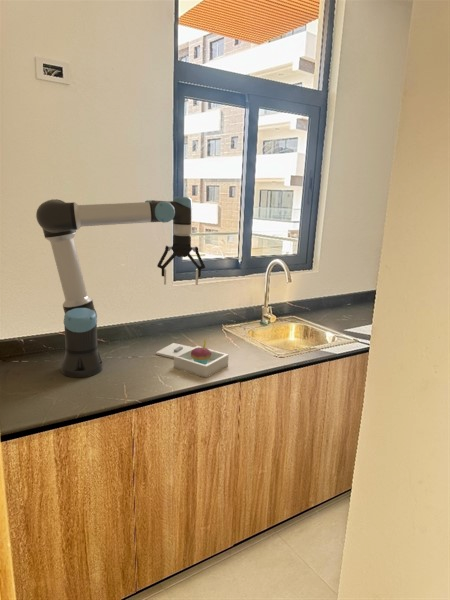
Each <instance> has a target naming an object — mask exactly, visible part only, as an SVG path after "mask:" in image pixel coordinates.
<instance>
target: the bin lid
mask: <svg viewBox="0 0 450 600" xmlns="http://www.w3.org/2000/svg"><path fill="white" fill-rule="evenodd" d="M194 347H195V346H189V345H185V344H179V343H175V342H172V343H171V344H169V345H167V346H165V347H163V348H160V350H158V351H156V354H155V355H157V356H162V357H165V358H166V357H167V358H170V359H174V356H176V355H178V354H180V353H183V352H185V351H187V350H189V349H192V348H194Z"/></svg>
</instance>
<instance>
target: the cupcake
mask: <svg viewBox="0 0 450 600" xmlns="http://www.w3.org/2000/svg"><path fill="white" fill-rule="evenodd" d="M206 343H207V338H205V339H204V342H203V346H202V347H203V348H195V349H193V350H192V351H191V357H192V358H193V359H194V361H195V362H198V363H201V364H205V365H206V364H207V362H208V359H210V357H211V355H212V353H211V352H210V351H209V350H208V349H209V348H207V347H206Z"/></svg>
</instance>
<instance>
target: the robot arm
mask: <svg viewBox="0 0 450 600" xmlns="http://www.w3.org/2000/svg"><path fill="white" fill-rule="evenodd" d="M35 213H36V214H35V218H36V222H37V223H38V226H40V228H42V232H43V236H44V239H46V240H48V241H49V243H50V245H51V249H52V254H53V259H54V261H55V264H56V265H55V266H56V269H57V273H58V277H59V282H60V284H61V288H62V292H63V296H64V299H65V300H64V302H63V303H62V308H63V312H64V317H63V324H64V325H63V326H64V342H65V343H64V344H65V353H64V356H63V357H64V358H63V361H62V364H61V373H62V374H63V375H64V376H66V377H70V378H87V377H88V378H89V377H92V376H95V375H97V374H99V373H101V372H102V371H103V366H104V365H103V360H102V358H101V355H100V353H99V350H98V325H97V323H98V314H97V310H96V309H95V305H94V301H93V298H92V297H90V295H88V294H87V287H86V285H85V280H84V276H83V272H82V269H81V264H80V259H79V256H78V252H77V247H76V242H75V239H74V237H75V235H76V234H77V230H78V231H79V229H80V228H81V227H96V226H110V225H112V226H115V225H128V224H129V225H131V224H144V223H146V224H147V223H165V224H166V223H170V222H171V221H173V223H172V224H173V226H172V232H173V235H172V245H171V246H170V245H165V247H164V250H163V251H164V252H163V253H162V255H161V257H160V259H159V262H158V263H157V264H156V265H157V268H160V269H161V277H164V278H163V285H167V268H166V267H167V266H168V265H169V264H170V263H171V262H172V261H173V259H174V258H176V257H178V258H181V257H182V258H186V257H187V258H188V259H189V260H190V261H191V262H192V263H193V265H194V266H195V267H196V269H195V286H199V285H198V283H199V278H201V275H202V274H201V273H202V272H201V271H202V270H203V269H204V270H205V268H206V266H205V264H204V261H203V259H202V257H201V255H200V253H199V247H198V246H192V236H191V234H192V219H193V217H192V216H193V201H192V197H189V196H174V197H173V200H168V201H167V200H155V199H153V200H152V199H151V200H149V199H147V200H145V201H143V202H122V203H121V202H119V203H98V204H96V203H95V204H78V203H76V202H65V201H64V200H61V199H53V198H52V199H48V200H46V201H44V202H42V203H41V204H40V205H39V206H38V208H37V209H36V212H35ZM171 250H172V252H173V253H171V255H170V256H169V258H167V260H166V261H165V262H164V260H165V258H166V256H167V255H168V253H169V252H170V251H171ZM192 251H193V252H194V253H195V255H196V257H197V259H198V261H199V263H198V262H197V261H196V259H194V257H193V256H192V254H191V252H192ZM163 262H164V263H163ZM199 264H200V265H199Z"/></svg>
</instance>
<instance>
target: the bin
mask: <svg viewBox="0 0 450 600" xmlns="http://www.w3.org/2000/svg"><path fill="white" fill-rule="evenodd" d="M193 347H194V348H192V349H189V350H187V351H185V352H183V353H180V354H178V355H176V356H174V358H173V368H174V369H177V370H181V371H182V372H186V373H189V374H192V375H195V376H198V377H201V376H202V378H204V377H205V378H204V379H207V378H208V376H209V375H210V376H212V375H214V374H215V372H216V373H217V372H219V371H221V370H223V369H224V368H227V366H229V354H228V353H225V352H221V351H217V350H215V349H210V348H207V349H208V350H209V351H210V352H211V353H212V355H211V357H210V359H208V362H207V364H206V365H205V364H201V363H198V362H195V361H194V359H193V358H192V357H191V351H192V350H193V349H195V348H203V346H200V345H196V346H193ZM213 373H214V374H213ZM211 374H212V375H211ZM210 376H209V377H210ZM206 377H207V378H206Z"/></svg>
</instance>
